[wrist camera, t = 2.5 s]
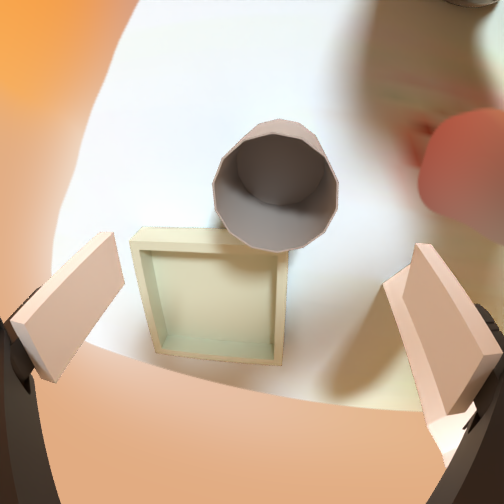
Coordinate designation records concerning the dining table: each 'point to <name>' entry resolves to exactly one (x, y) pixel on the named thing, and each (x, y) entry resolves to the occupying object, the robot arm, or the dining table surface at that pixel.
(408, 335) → the milk
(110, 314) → the dining table surface
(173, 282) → the bin
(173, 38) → the dining table surface
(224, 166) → the cup
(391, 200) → the dining table surface
